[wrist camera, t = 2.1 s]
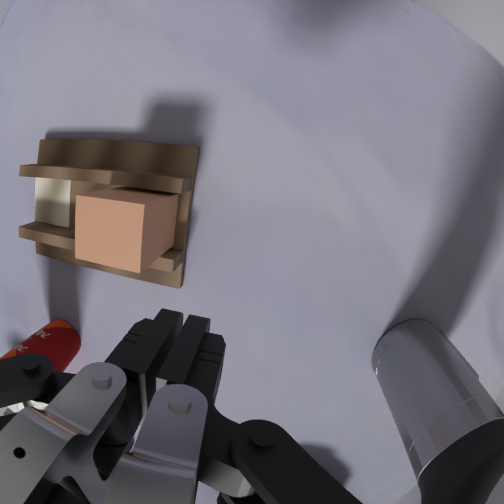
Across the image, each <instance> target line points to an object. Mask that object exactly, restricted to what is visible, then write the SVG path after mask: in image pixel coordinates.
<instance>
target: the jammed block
mask: <svg viewBox="0 0 504 504" xmlns="http://www.w3.org/2000/svg"><path fill="white" fill-rule="evenodd" d="M178 200H179V194H178V193H171V192H164V191H157V190H149V189H142V188H134V187H126V186H121V187H116V188H110V189H105V190H99V191H94V192H89V193H84V194H79V195H76V212H75V258H77V259H81V260H85V261H89V262H94V263H98V264H102V265H106V266H110V267H114V268H119V269H123V270H127V271H132V272H136V273H141V272H142V271H143V270H145V269H146V268H147V267H148V266H149V265H150V264H152V263H153V262H154V261H155V260H156V259H158V258H159V257H160V256H161V255H162V254H164V253H165V252H166V251H167V250H168V249H170V248H171V247H172V246H173V245H174V236H175V226H176V217H177V208H178Z"/></svg>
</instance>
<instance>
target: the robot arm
mask: <svg viewBox="0 0 504 504" xmlns="http://www.w3.org/2000/svg"><path fill="white" fill-rule="evenodd" d="M209 330H210V318H205V317H200V316H195V315H189V316H188V318H187V320H186V322H185V323H184V325H183V313H181V312H177V311H172V310H168V309H163V308H162V309H161V310H160V312H159V313H158V314H157V316H156V317H155V318H154V320H151V319H147V318H145V319H143V320H141V321H139V322H137V323H135V324H134V325H133V326H132V328H131V329H130V330H129V331H128V334H126V335H125V336H124V338H123V340H121V341H120V343H119V344H118V345H117V346H116V348H115V349H114V350H113V351H112V353H111V354H110V355H109V356H108V358H107V359H106V360H105V361H104V362H96V363H91V364H89V365H86V366H85V367H83V368H82V369H81V370H80V371H79V372H78V373H77V374H71V373H64V372H57V371H54V368H53V365H52V362H51V360H50V359H49V358H48V357H47V356H45V355H43V354H40V353H26V354H22V355H17V356H13V357H8V358H4V359H0V408H2V407H6V406H10V405H14V404H18V403H23V406H24V408H23V409H21V410H20V411H19V412H16V413H12V414H8V415H4V416H0V504H195V500H196V494H197V487H198V481H200V482H202V483H204V484H206V485H208V486H210V487H212V488H214V489H216V490H218V491H220V492H221V495H222V496H223V498H224V499H225V501H226V502H227V504H363V503H361V502H360V501H359V500H358V499H357V498H356V497H354V496H353V495H352V494H351V493H350V492H349V491H348V490H346V489H345V488H344V487H343V486H342V485H341V484H340V483H339V482H337V481H336V480H335V479H334V478H333V477H332V476H331V475H330V474H329V473H328V472H327V471H326V470H324V469H323V468H322V467H321V466H320V465H319V464H318V463H317V462H316V461H315V460H314V459H313V458H312V457H311V456H310V455H309V454H308V453H307V452H306V451H305V450H304V449H303V448H302V447H301V446H300V445H299V444H298V443H297V442H296V441H295V440H294V439H293V438H292V437H291V436H290V435H289V434H288V433H287V432H286V431H285V430H284V429H283V428H282V427H280V426H279V425H277V424H275V423H273V422H270V421H266V420H249V421H245V422H243V423H241V424H238V423H236V422H234V421H231V420H229V419H227V418H226V417H224V416H223V415H221V414H220V413H219V412H218V410H217V409H216V408H215V406H214V404H215V400H216V395H217V391H218V387H219V383H220V379H221V373H222V367H223V360H224V354H225V347H226V344H225V342H224V339H223V337H222V335H218V334H213V333H209ZM372 366H373V370H374V372H375V374H376V377H377V379H378V381H379V384H380V386H381V388H382V391H383V393H384V396H385V398H386V401H387V403H388V406H389V408H390V410H391V413H392V415H393V418H394V420H395V423H396V426H397V428H398V431H399V433H400V436H401V438H402V441H403V444H404V446H405V449H406V452H407V455H408V457H409V460H410V463H411V465H412V468H413V471H414V474H415V477H416V480H417V483H418V485H419V488H420V492H421V504H485V503H486V501H487V499H488V497H489V495H490V493H491V492H492V490H493V488H494V487H495V485H496V484H497V482H498V481H499V479H500V478H501V477H502V475H503V473H504V414H503V412H502V411H501V410H500V408H499V407H498V406H497V404H496V403H495V401H494V400H493V399H492V398H491V396H490V395H489V394H488V392H487V391H486V389H485V388H484V387H483V386H482V384H481V383H480V382H479V376H478V374H477V373H476V371H475V370H474V369H473V368H472V367H471V365H470V364H469V363H468V362H467V360H466V359H465V358H464V357H463V356H462V354H461V353H460V352H459V351H458V350H457V349H456V347H455V346H454V345H453V344H452V343H451V342H450V340H449V339H448V338H447V337H446V336H445V335H444V334H443V333H440V332H439V331H438V330H437V329H436V328H435V327H434V326H433V325H432V324H431V323H430V322H428V321H425V320H421V319H414V320H409V321H405V322H403V323H401V324H399V325H397V326H395V327H394V328H392V329H391V330H389V331H388V332H387V333H386V334H385V335H384V336H383V337H382V339H381V340H380V341H379V343H378V344H377V346H376V348H375V350H374V353H373V356H372ZM139 425H140V426H141V429H140V432H139V434H138V437H137V440H136V442H135V436H134V434H135V432H136V430H137V428H138V426H139ZM134 442H135V445H134ZM133 445H134V447H133ZM132 447H133V450H132V451H131V449H132ZM130 451H131V453H129V452H130Z"/></svg>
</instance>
